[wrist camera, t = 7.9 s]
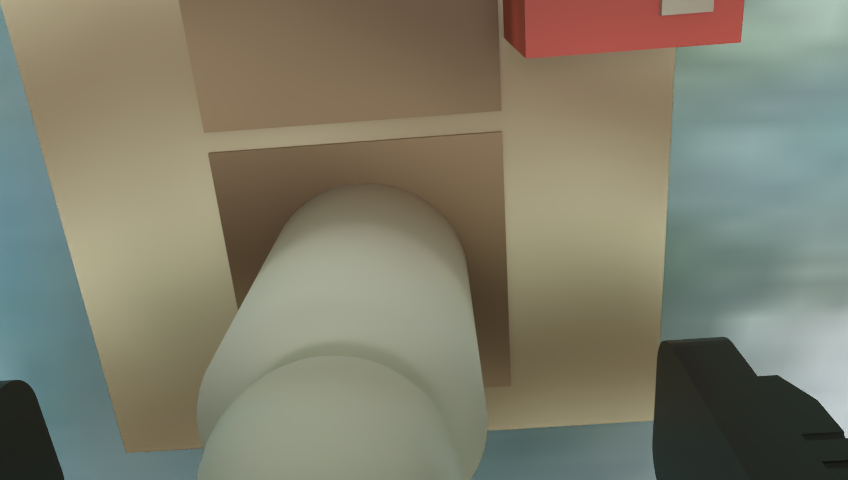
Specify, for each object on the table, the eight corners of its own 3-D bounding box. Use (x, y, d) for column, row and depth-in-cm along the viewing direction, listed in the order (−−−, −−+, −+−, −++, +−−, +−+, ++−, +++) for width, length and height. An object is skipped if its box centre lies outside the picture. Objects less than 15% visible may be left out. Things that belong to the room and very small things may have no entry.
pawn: (472, 356, 15) (515, 722, 8) (286, 368, 15) (158, 739, 8) (461, 176, 14) (504, 420, 6) (256, 191, 14) (66, 446, 6)
